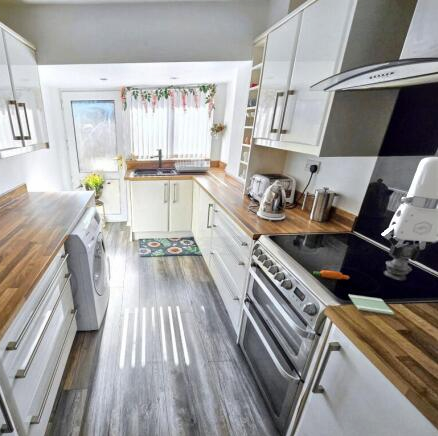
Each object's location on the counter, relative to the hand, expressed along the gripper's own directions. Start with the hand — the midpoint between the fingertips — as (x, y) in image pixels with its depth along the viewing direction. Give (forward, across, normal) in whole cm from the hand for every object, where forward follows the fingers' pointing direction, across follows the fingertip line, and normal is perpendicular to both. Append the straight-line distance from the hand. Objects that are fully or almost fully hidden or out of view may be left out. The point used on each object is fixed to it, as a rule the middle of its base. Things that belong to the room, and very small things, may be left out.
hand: (401, 257), depth 74 cm
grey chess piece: (+7, 0, 0) cm, 7 cm away
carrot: (+21, -8, +18) cm, 29 cm away
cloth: (+21, -2, +3) cm, 22 cm away
